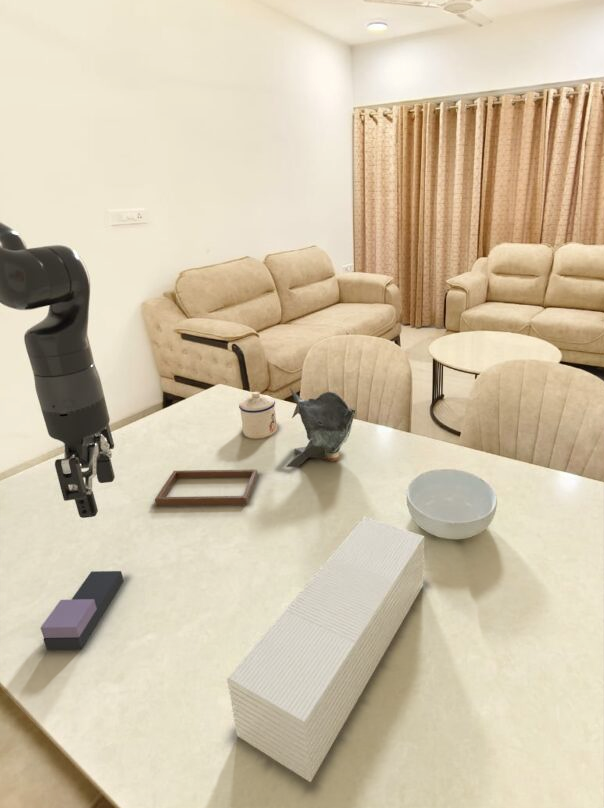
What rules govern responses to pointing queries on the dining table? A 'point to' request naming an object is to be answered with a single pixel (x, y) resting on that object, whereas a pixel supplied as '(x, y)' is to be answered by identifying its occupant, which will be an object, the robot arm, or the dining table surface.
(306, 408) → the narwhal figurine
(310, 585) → the stack of papers
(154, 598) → the dining table surface
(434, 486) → the cereal bowl
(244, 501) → the empty rectangular frame
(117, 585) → the navy and purple block
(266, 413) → the teacup with lid
